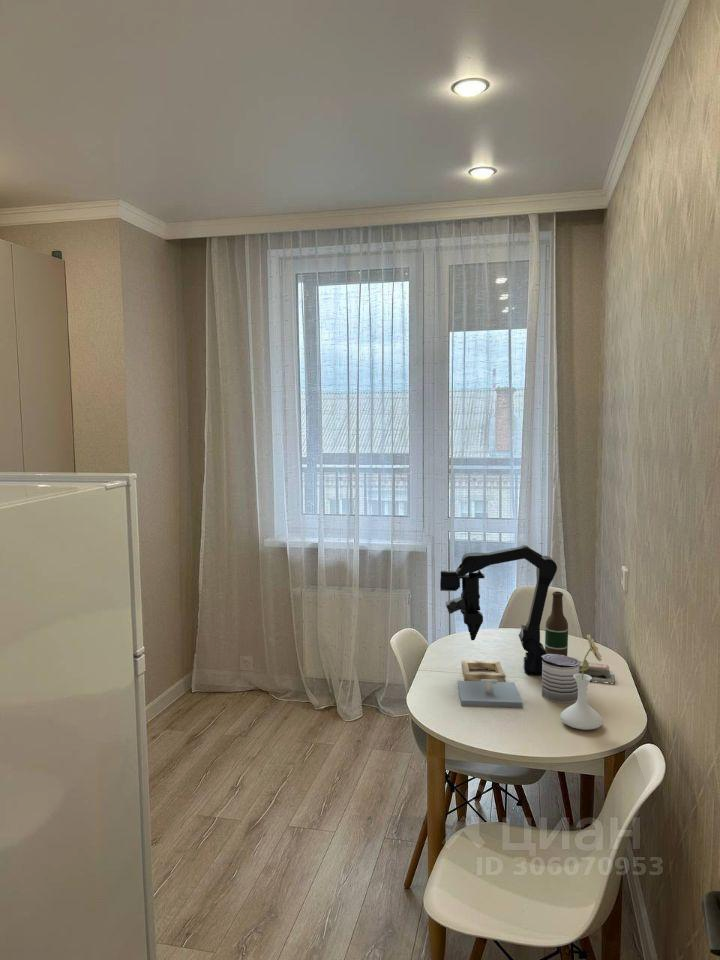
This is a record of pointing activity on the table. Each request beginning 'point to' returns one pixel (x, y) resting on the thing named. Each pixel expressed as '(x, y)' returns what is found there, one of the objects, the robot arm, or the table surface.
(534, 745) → the table surface
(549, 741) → the table surface
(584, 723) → the flower in vase
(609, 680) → the packaged product
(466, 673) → the oak loop
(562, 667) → the can
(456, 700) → the table surface
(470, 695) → the hook board
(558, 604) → the beer bottle
